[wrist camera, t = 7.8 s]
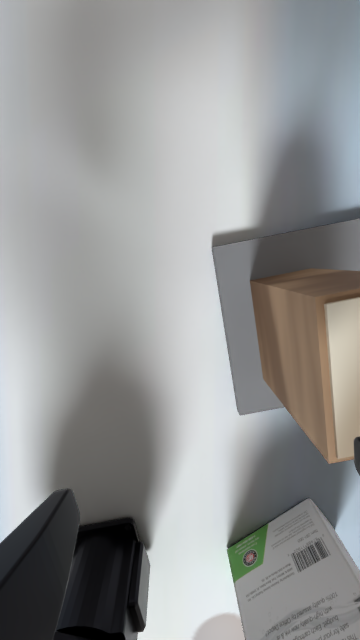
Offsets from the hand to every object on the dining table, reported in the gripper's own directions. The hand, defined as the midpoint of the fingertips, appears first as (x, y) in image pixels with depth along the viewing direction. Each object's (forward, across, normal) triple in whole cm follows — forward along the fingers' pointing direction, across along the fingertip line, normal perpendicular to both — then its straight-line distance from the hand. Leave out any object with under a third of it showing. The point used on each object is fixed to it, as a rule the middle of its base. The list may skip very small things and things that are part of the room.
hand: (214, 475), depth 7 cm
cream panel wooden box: (+11, -7, 0) cm, 13 cm away
